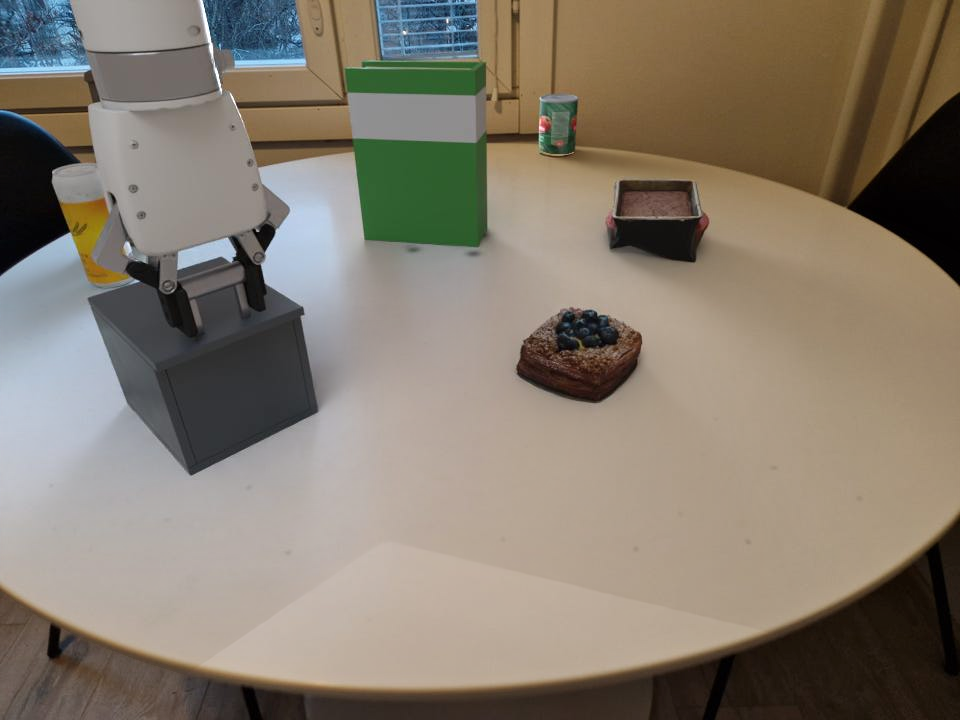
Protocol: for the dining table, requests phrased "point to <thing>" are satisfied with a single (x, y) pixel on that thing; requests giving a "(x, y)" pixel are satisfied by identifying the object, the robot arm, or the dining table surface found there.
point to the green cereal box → (420, 150)
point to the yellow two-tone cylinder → (86, 217)
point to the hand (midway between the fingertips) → (220, 316)
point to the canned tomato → (558, 123)
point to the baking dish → (657, 217)
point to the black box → (218, 392)
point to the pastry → (580, 355)
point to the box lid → (213, 306)
